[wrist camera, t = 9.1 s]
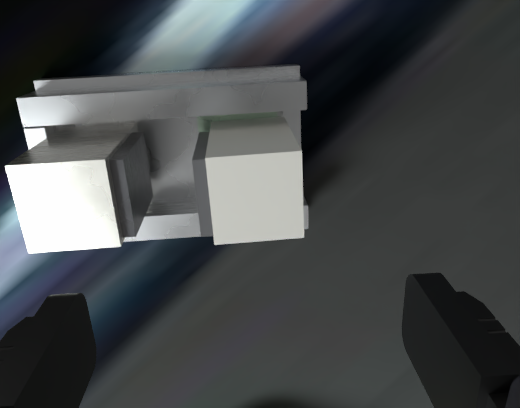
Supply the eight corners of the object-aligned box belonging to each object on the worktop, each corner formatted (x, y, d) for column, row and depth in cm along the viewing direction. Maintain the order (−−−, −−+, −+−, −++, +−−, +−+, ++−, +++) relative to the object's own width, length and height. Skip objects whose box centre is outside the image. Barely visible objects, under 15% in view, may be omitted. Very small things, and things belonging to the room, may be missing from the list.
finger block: (283, 116, 26) (301, 150, 19) (286, 184, 27) (304, 237, 21) (200, 122, 25) (190, 159, 19) (207, 190, 27) (200, 246, 20)
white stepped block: (297, 63, 26) (324, 83, 18) (299, 212, 29) (323, 280, 22) (40, 78, 25) (-39, 105, 18) (74, 228, 28) (19, 303, 21)
